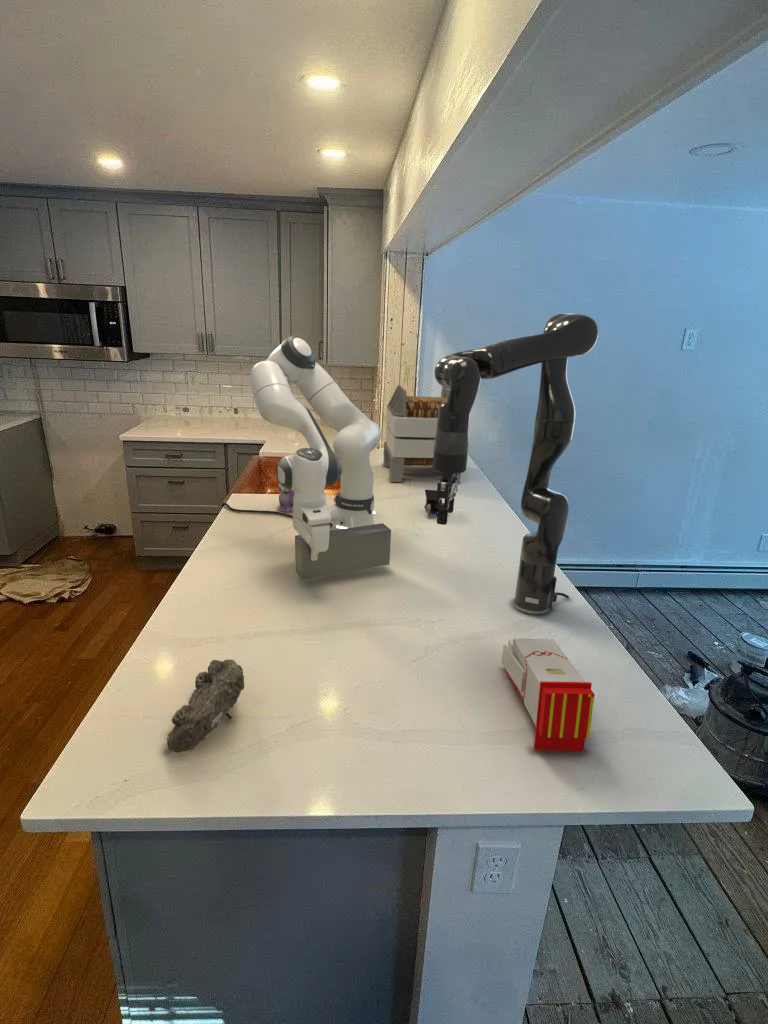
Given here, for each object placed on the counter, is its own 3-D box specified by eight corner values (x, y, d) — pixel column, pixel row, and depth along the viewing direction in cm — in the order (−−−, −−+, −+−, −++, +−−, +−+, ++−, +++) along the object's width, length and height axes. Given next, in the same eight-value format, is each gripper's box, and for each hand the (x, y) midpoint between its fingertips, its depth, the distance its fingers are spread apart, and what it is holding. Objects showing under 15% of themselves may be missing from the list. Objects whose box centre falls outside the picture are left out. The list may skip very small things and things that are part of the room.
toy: (549, 621, 128) (604, 690, 99) (544, 676, 131) (595, 758, 101) (496, 620, 128) (535, 688, 98) (492, 675, 130) (528, 757, 101)
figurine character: (442, 522, 216) (438, 505, 229) (444, 504, 213) (440, 488, 226) (425, 521, 216) (422, 504, 229) (426, 504, 212) (423, 487, 226)
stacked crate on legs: (382, 463, 289) (386, 382, 275) (445, 464, 293) (451, 384, 279) (390, 482, 257) (394, 392, 243) (460, 483, 261) (468, 394, 247)
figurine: (281, 513, 213) (281, 475, 208) (273, 505, 222) (272, 468, 217) (305, 510, 217) (305, 473, 212) (296, 502, 226) (296, 466, 221)
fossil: (192, 660, 117) (244, 628, 112) (224, 691, 120) (276, 661, 115) (142, 746, 98) (202, 712, 93) (182, 779, 101) (242, 748, 96)
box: (301, 580, 158) (301, 543, 154) (295, 571, 163) (294, 535, 159) (389, 564, 170) (391, 529, 166) (381, 557, 174) (382, 523, 171)
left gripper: (287, 498, 162) (287, 542, 167) (310, 522, 145) (310, 571, 150) (308, 495, 165) (308, 539, 170) (333, 519, 148) (332, 567, 153)
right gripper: (463, 458, 118) (456, 530, 123) (472, 444, 131) (465, 510, 136) (427, 454, 120) (422, 526, 125) (440, 441, 133) (435, 506, 138)
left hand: (309, 554), depth 160 cm, fingers closed on box, 6 cm apart
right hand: (445, 517), depth 131 cm, fingers open, 8 cm apart
